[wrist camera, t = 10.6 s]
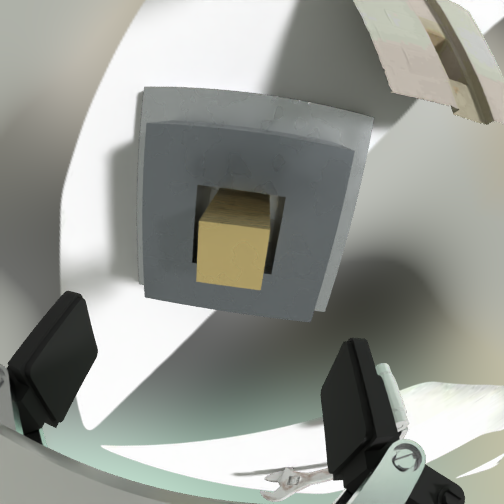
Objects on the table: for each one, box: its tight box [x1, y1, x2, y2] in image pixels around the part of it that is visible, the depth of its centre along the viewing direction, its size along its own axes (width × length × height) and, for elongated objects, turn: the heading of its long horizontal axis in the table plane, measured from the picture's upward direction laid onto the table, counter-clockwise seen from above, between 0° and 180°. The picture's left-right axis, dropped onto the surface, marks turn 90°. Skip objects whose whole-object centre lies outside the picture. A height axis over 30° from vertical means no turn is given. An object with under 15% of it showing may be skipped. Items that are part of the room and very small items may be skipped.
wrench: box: [260, 467, 333, 502], centre depth 48 cm, size 8×2×30 cm
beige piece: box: [353, 0, 504, 125], centre depth 18 cm, size 16×9×15 cm
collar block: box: [137, 87, 374, 322], centre depth 25 cm, size 20×20×7 cm
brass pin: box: [196, 188, 270, 290], centre depth 22 cm, size 4×4×10 cm
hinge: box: [375, 363, 409, 440], centre depth 34 cm, size 14×5×10 cm, turn 20°
